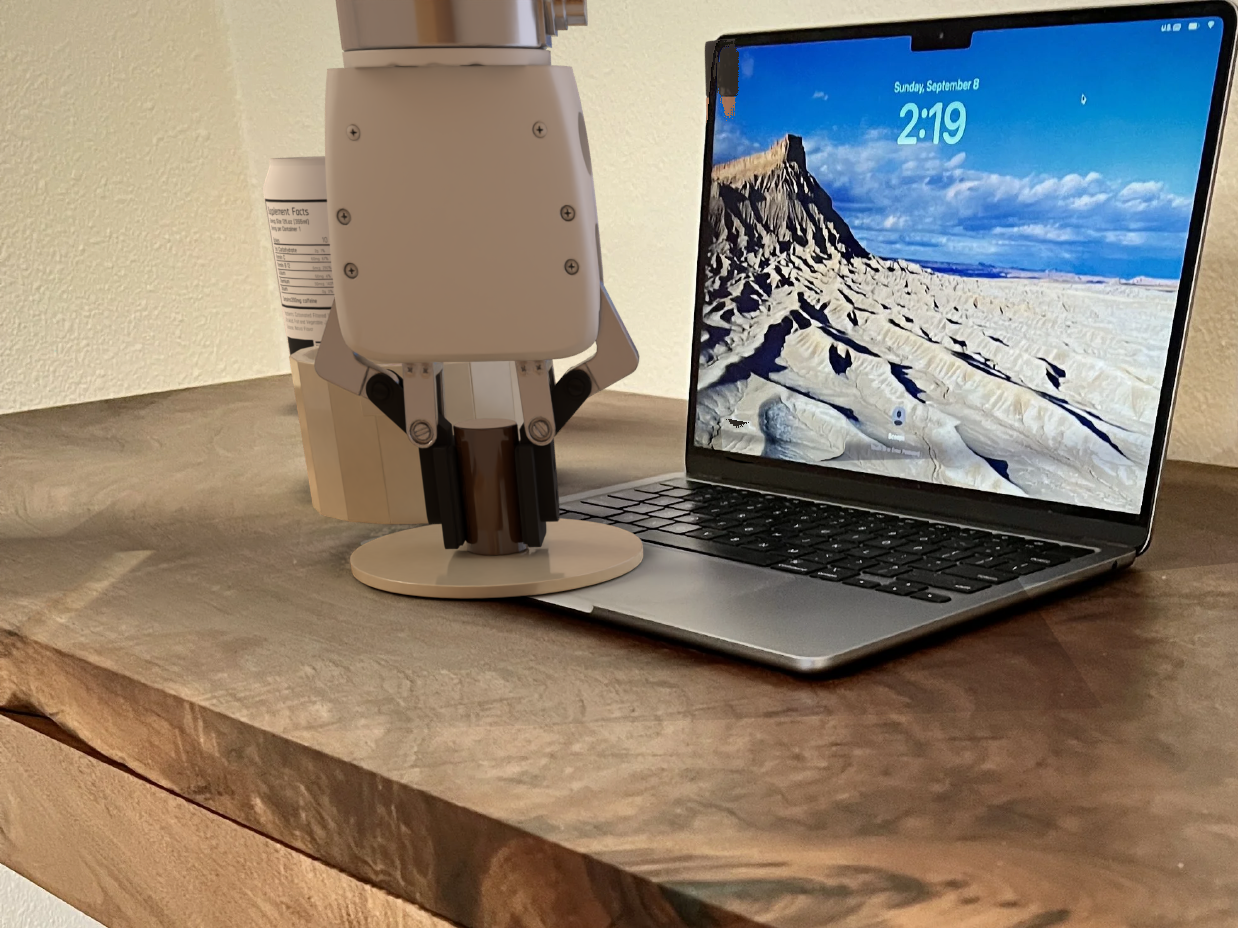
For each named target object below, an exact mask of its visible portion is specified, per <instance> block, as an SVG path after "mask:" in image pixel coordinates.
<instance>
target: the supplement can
mask: <svg viewBox="0 0 1238 928" xmlns="http://www.w3.org/2000/svg"><path fill="white" fill-rule="evenodd" d="M268 162H269V166H268V169H267V173H266V176H265V179H264V183H263V185H262V194H263V200H264V206H265V213H266V220H267V225H268V231H269V237H270V243H271V250H272V251H271V252H272V257H273V262H274V269H275V275H276V281H277V287H278V293H279V294H278V295H279V299H280V305H281V312H282V319H283V324H284V331H285V337H286V343H287V349H288V357H289V356H290V355H292V354H293V353H295V352H297V351H298V350H300V349H304V348H308V347H313V346H317V345H320V343H321V339H322V336H323V333H324V330H325V326H326V323H327V320H328V317H329V313H330V310H331V307H332V304H333V300H334V297H335V295H334V286H333V276H332V266H331V254H330V241H329V225H328V209H327V189H326V168H325V155H318V156H317V155H316V156H291V157H290V156H288V157H287V156H286V157H272V158H268Z"/></svg>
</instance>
